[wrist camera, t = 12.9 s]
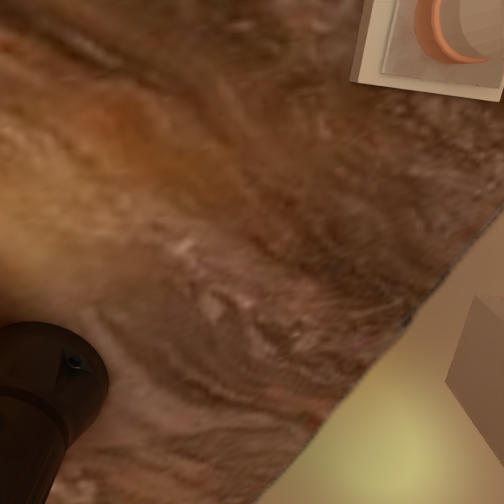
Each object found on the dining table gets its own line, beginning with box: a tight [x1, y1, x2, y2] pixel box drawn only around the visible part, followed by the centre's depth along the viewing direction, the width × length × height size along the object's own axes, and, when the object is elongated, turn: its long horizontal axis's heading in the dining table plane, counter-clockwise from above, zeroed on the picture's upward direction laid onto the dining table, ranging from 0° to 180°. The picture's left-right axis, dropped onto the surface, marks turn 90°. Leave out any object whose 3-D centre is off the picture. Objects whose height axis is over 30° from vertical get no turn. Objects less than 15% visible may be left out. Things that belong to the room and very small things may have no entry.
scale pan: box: [381, 0, 504, 89], centre depth 37 cm, size 10×10×1 cm
